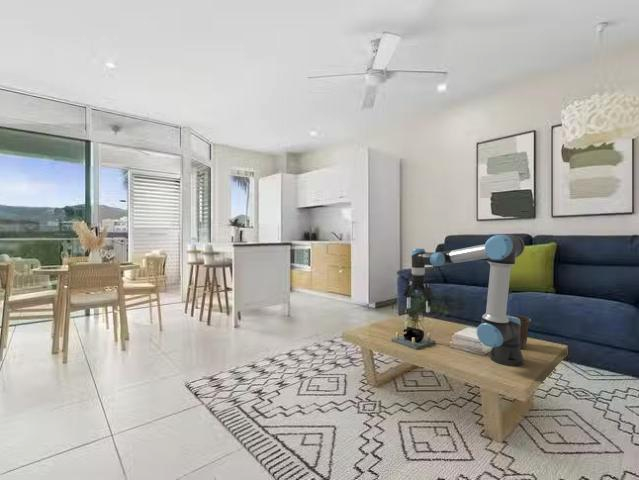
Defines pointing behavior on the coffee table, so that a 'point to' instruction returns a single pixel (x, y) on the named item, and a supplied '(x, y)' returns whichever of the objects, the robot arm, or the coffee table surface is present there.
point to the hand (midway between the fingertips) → (418, 310)
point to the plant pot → (523, 329)
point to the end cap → (413, 334)
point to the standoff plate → (409, 343)
